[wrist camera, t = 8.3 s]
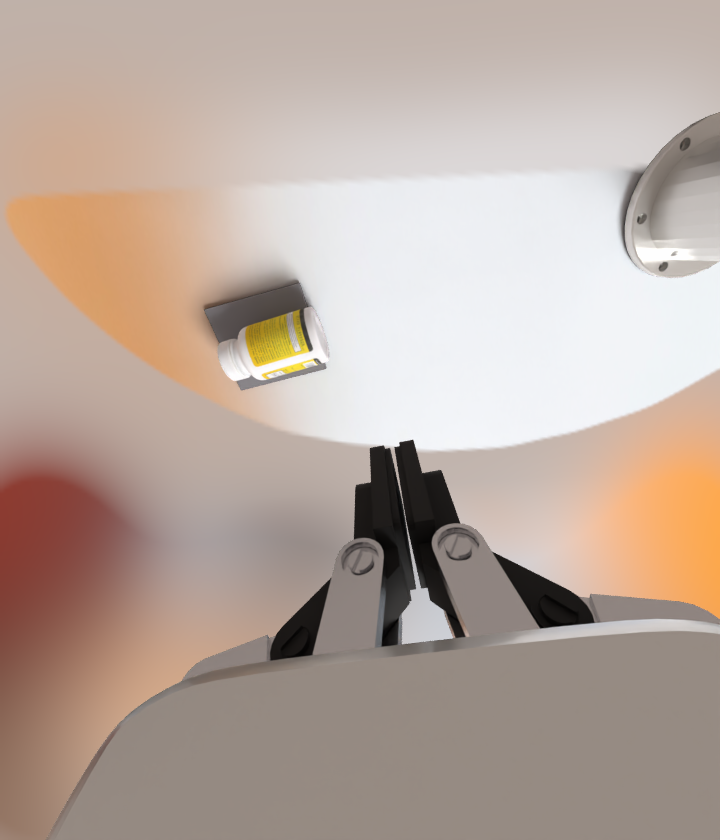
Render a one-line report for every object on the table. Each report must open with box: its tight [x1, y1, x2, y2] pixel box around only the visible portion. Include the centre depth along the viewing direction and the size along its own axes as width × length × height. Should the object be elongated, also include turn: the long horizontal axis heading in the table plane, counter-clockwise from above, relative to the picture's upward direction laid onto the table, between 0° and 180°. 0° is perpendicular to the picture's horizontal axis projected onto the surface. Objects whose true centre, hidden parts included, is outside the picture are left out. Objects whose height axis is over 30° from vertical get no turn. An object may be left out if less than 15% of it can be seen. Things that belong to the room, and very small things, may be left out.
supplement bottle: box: [217, 307, 329, 381], centre depth 31 cm, size 5×5×10 cm
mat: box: [204, 283, 326, 390], centre depth 34 cm, size 10×9×1 cm
